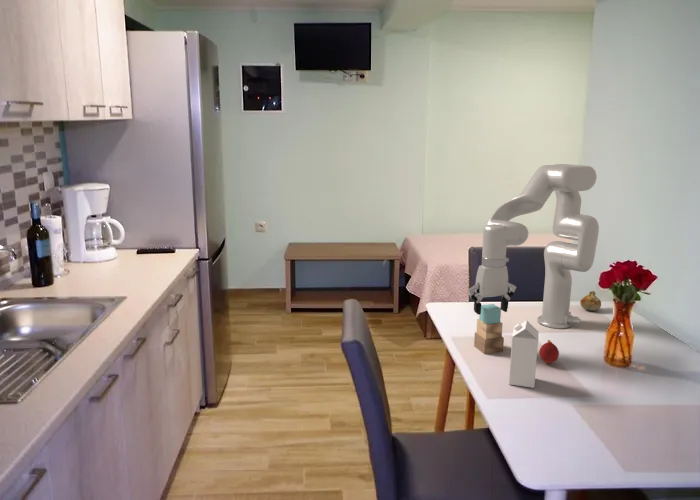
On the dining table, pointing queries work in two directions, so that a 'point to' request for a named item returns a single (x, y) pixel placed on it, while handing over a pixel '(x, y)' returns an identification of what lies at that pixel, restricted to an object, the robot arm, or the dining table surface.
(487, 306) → the teal cube
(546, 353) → the onion
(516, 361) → the milk carton
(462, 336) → the dining table surface
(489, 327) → the oak middle block
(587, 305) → the onion
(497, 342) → the walnut base block
